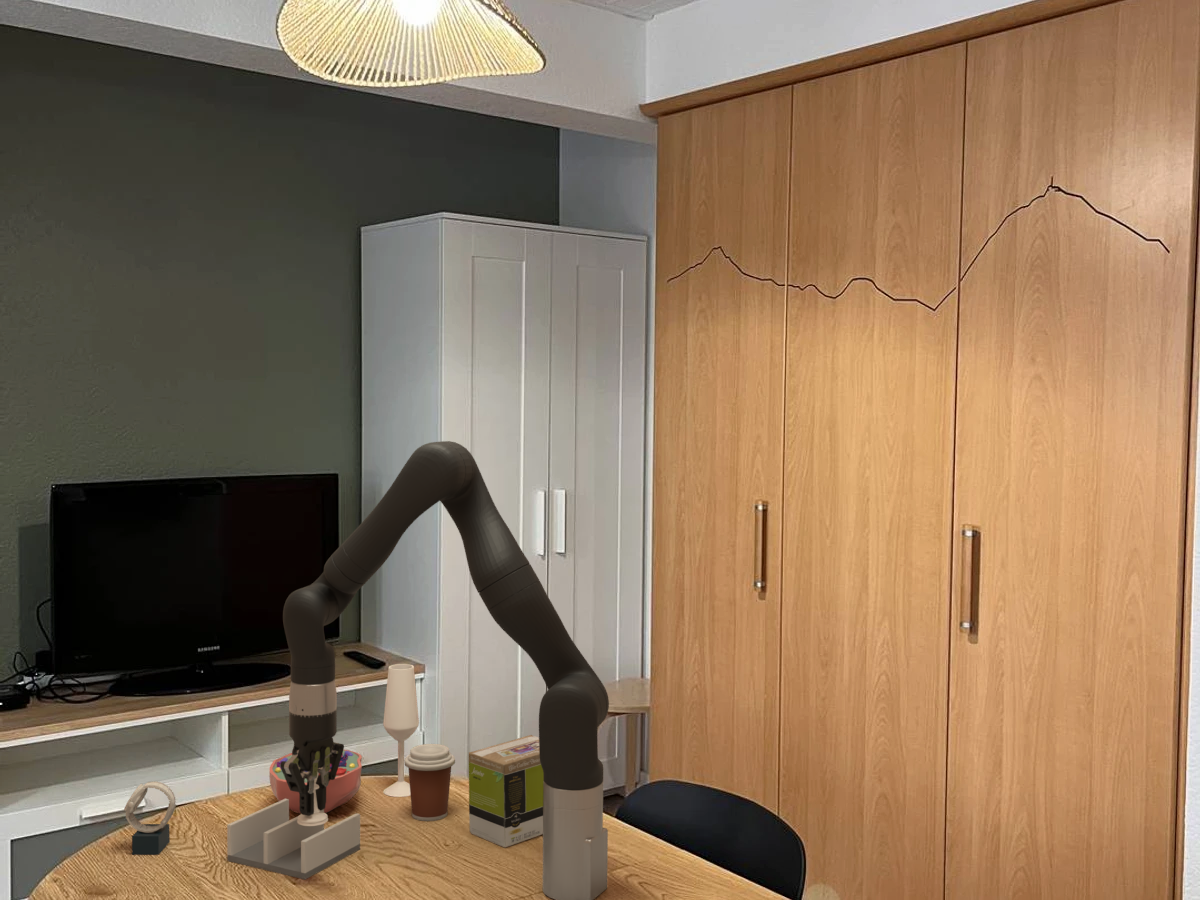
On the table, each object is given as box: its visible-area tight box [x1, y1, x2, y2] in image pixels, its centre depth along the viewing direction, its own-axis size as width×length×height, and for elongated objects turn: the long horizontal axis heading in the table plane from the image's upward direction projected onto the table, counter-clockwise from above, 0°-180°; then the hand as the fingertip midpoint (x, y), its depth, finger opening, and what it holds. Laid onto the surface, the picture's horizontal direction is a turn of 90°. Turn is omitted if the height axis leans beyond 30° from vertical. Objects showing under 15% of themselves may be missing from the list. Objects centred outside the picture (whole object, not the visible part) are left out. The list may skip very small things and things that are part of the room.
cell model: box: [268, 748, 363, 814], centre depth 223 cm, size 17×20×11 cm
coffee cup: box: [404, 743, 456, 822], centre depth 220 cm, size 9×9×12 cm
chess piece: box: [297, 771, 329, 826], centre depth 199 cm, size 5×5×10 cm
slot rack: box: [226, 799, 361, 880], centre depth 201 cm, size 16×14×6 cm
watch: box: [123, 781, 177, 856], centre depth 203 cm, size 6×8×11 cm
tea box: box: [468, 734, 544, 848], centre depth 213 cm, size 15×10×15 cm, turn 135°
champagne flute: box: [382, 663, 420, 798], centre depth 232 cm, size 7×7×24 cm
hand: (313, 811), depth 199 cm, fingers closed on chess piece, 2 cm apart
